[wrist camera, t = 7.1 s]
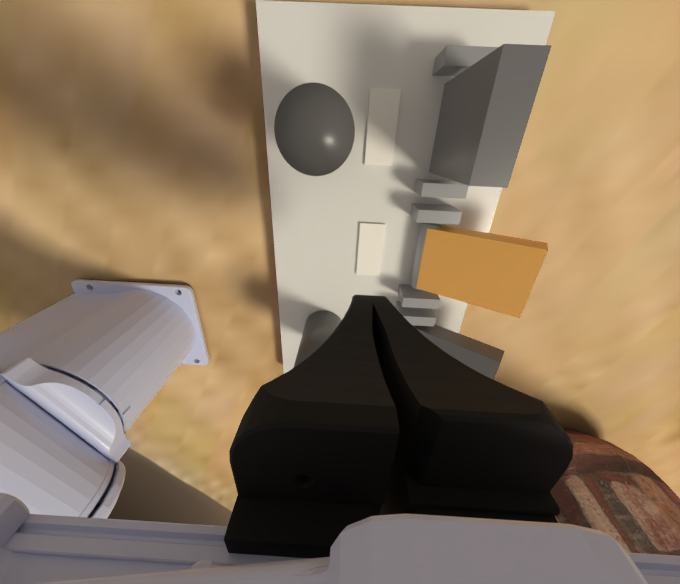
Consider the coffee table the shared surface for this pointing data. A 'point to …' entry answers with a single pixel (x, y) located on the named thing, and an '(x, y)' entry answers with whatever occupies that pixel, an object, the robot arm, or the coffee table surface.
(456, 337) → the paddle
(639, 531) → the pottery
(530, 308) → the coffee table surface
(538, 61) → the paddle
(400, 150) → the breaker panel
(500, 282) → the block
